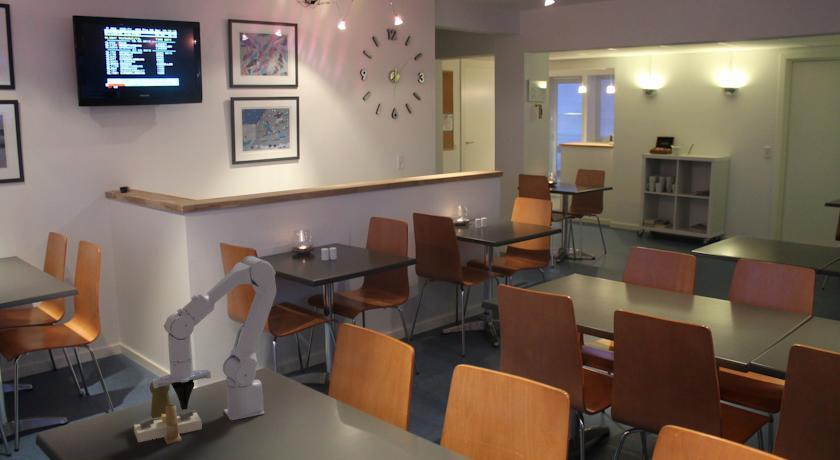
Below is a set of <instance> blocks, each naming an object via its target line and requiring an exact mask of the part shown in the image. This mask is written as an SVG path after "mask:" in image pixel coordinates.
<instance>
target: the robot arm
mask: <svg viewBox="0 0 840 460" xmlns="http://www.w3.org/2000/svg"><path fill="white" fill-rule="evenodd" d="M276 274H277V272H276V269H274V267H273V265H272V264H271V263H270V262H269V261H267V260H264V259H261V258H258V257H257V256H254V255H248V256H247V255H246V256H245V257H244V258H242V259H241V261H239V262H237V263H235V265H234V266H233V267H232V269H231V270H229V272H228V273H227V274H225V276H223V278H221V279H220V280H219V281H217V282H216V284H215V285H213V287H211V289H209V291H208V292H207V293H199V294H197V295H195V294H194V295H193V296H191V297H190V299H191V300H190V301H189V302H188V303H187V304H186V305H184V306H183V307H182V308H179V309H177V310H176V312H177V313H176V312H175V313H173V314H169V316H168V317H167V318H166V320H165V322H164V324H163V328H164V330H165V331H166V333H168V334H167V337H168V338H167V339H168V343H167V344H168V346H167V347H168V358H169V359H168V360H169V361H168V362H169V374H166V375H164V376H160V377H157V378H156V377H155V378H152V382H153V387H154V388H158V387H159V386H165V385H170V386H172V388H173V389H174V392H175V393H176V397H177V399H178V401H179V405H180V409H181V410H182V411H185V410H187V409H189V408H188V407H189V405H188V404H189V400H190V397H191V395H192V392H193V390H194V387H195V382H194V381H197V380H202V379H203V380H204V379H206V380H207V379H211V377H212V375H211V370H210V369H200V370H198V369H197V370H194V366H193V353H192V352H193V350H192V341H191V335H192V333H193V332H194V328H195V326H197V325H198V324H199V323H201V321H203V320H204V319H206V317H207V316H208V315H210V314H211V313H212V312H213V311H214V310H215V304H216V303H217V302H218V301H220V300H221V299H222V298H223V297H224V296H226V295H228V293H230V292H231V291H232V290H233V289H235V288H236V287H237V286H239V285H251V286H252V288H253V290H254V291H255V294H254V297H253V300H252V303H251V305H250V309H249V311H248V315H247V316H246V320H245V322H244V325H243V329H242V331H241V333H240V337H239V340H238V343H237V345H236V346H235V347H234V348H233V349H232V350H231V351H230V354H229V355H228V357H227V358H226V359H225V360H224V362H223V364H222V371H223V372H222V373H224V375H225V376H226V377H227V379H226V383H225V384H226V397H227V398H226V399H227V400H226V401H227V408H225V409H223V412H224V413H225V415H226V416H227V417H228V419H229V420H230V421H237V420H240V419H246V418H250V417H255V416H259V415H260V416H261V415H264V414H265V409H264V392H263V386H262V382H261V381H260V379H255V378H256V376H257V371H256V366H257V363H258V358H257V349H258V346H259V344H260V340H261V338H262V334H263V332H264V329H265V326H266V323H267V321H268V318H269V315H270V312H271V310H272V306H273V303H274V302H275V301H274V300H275V298H276V295H277V284H276Z"/></svg>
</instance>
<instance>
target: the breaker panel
mask: <svg viewBox="0 0 840 460" xmlns="http://www.w3.org/2000/svg"><path fill="white" fill-rule="evenodd" d="M192 412H193V416H191V417H188V418H186V419H183V420H181V419H180V417H179V413H180V412H177V427H178V433H179V435H180V434H185V433H189V432H195V431H199V430H202V429H203V425H202V424H203V423H202V418H201V417H200V416H199V414H198V412H197V410H196V409H194V410H192ZM139 421H140V420H138V421H134V422H133V432H134V433H133V434H134V435H135V438H136V441H137V443H143V442H147V441H152V439H153V440H157V439H161V438H164V436H167V424H166V422H162V420H161V417H157V418H153V421H154V424H151V425H149V426H146V427H144V428H141V426H140V423H139ZM156 438H157V439H156Z"/></svg>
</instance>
